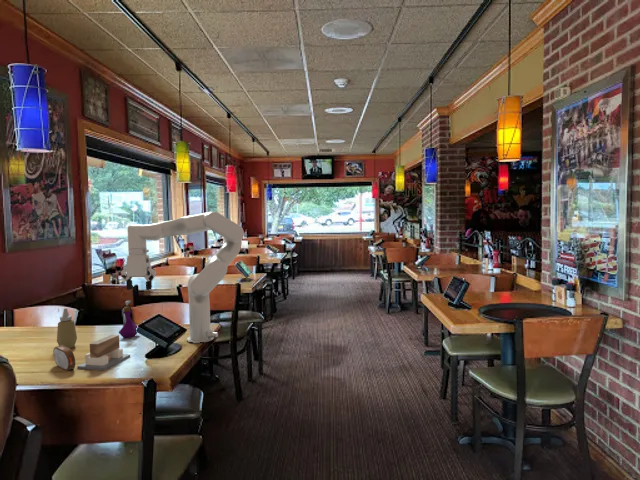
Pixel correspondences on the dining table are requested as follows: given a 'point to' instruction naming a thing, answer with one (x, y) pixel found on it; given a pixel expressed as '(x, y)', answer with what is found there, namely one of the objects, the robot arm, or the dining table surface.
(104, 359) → the stand
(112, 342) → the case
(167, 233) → the robot arm
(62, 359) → the tin
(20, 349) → the dining table surface
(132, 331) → the perfume bottle
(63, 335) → the squeeze bottle
